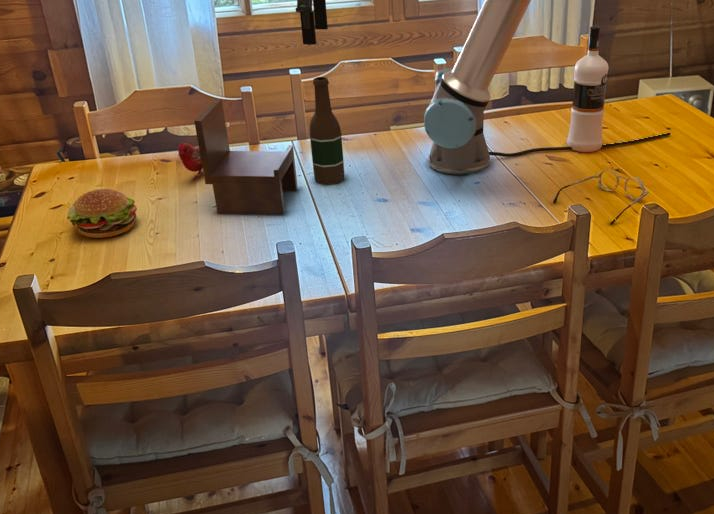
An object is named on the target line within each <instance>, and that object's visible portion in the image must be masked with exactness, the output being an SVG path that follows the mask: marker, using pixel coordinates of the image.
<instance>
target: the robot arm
mask: <svg viewBox="0 0 714 514" xmlns="http://www.w3.org/2000/svg"><path fill="white" fill-rule="evenodd" d="M326 1H327V0H296V7H295V12H296V13H299V16H300V26H301V36H302V38H301V39H302V45H305V46H306V45H309V46H312V45H313V46H315V45H317V34H316V30H322V31H323V30H328V29H329V27H328V26H329V25H328V15H327V2H326ZM531 1H532V0H484V2H483V3H482V5H481V8H480V10H479V12H478V14H477V16H476V19H475V20H474V23H473V25H472V28H471V30H470V32H469V33H468V36H467V38H466V40H465V43H464V45H463V47H462V49H461V52H460V53H459V56H458V58H457V60H456V63H455V65H454V66H453V67H452V68H444V69H443V68H442V69H440V70H437V71H436V73H435V77H434V85H435V89H434V90H435V91H434V94H433V96H432V98H431V100H430V103H429V105H428V106H427V107H426V109H425V111H424V115H423V126H424V130H425V133H426V134H427V136H428V138H429V139H430V140H431V141H432V146H431V149H430V151H429V152H428V153H427V157H428V166H429V167H430V168H431V169H432V170H434V171H436V172H439V173H441V174H446V175H455V176H463V175H472V174H477V173H481V172H483V171H485V170H486V169H488V168H489V167H490V165H491V156H496V157H504V158H513V157H519V156H524V155H526V154H531V153H539V152H556V151H557V152H558V151H559V152H561V151H573V150H572V148H571V147H568V146H552V147H551V146H550V147H549V146H548V147H536V148H529V149H525V150H521V151H518V152H508V153H506V152H498V151H489V148H488V145H487V141H486V138H485V135H484V124H485V123H484V121H485V119H484V117H485V115H484V112H485V111H486V108H487V106H488V104H489V102H490V100H491V94H490V91H489V86H490V84H491V83H492V81H493V78H494V76H495V74H496V73H497V70H498V68H499V66H500V64H501V62H502V60H503V58H504V56H505V54H506V52H507V50H508V48H509V47H510V44H511V42H512V39H514V35H515V34H516V32H517V30H518V28H519V26H520V23H521V22H522V19H523V18H524V15H525V14H526V11H527V9H528V8H529V5H530V3H531ZM666 133H667V132H666ZM671 133H672V132H670V133H667V134H663V133H661V134H662V135H658V134H657V135H658V136H654V135H652V136H653V137H649V136H647V137H648V138H644V137H643V138H644V139H639V138H638V139H639V140H634V139H633V140H634V141H629V140H627V141H628V142H623V141H621V142H622V143H616V142H613V143H614V144H608V143H605V144H606V145H602V147H601V148H600V149H602V148H611V147H618V146H624V145H625V146H627V145H630V144H631V145H632V144H636V143H642V142H645V141H651V140H655V139H659V138H664V137H669V136H671Z"/></svg>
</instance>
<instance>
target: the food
mask: <svg viewBox="0 0 714 514" xmlns="http://www.w3.org/2000/svg"><path fill="white" fill-rule="evenodd" d="M135 203H136V202H135V200H134V199H132V198H130V197H128V196H127V195H126V194H125V193H123V192H122V191H119V190H116V189H111V188H110V189H109V188H98V189H94V190H90V191H88V192H85V193H83V194H82V195H80V196H78V197H77V198H76V200H75V201H74V203H73V204H72V205H71V206H70V207H69V210H68V212H67V217H66V219H67V220H69V222H70V223H71V225H72V226H73V227H75V226H76V225H77V232H78V233H79V234H80V235H82V236H84V237H86V238H94V239H101V238H111V237H114V236H118V235H121V234H123V233H125V232H128V231H129V230H130V229H131V228H133V227H134V226H135V221H136V218H137V213H136V212H137V210H138V206H137V205H136V204H135Z"/></svg>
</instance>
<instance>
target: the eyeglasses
mask: <svg viewBox="0 0 714 514" xmlns="http://www.w3.org/2000/svg"><path fill="white" fill-rule="evenodd" d="M604 172H611V173H612V174H614V176H615V178H616V184H615V185H614V189H608V188H606V187H605V185H604V184H603V182H602V176H603V174H604ZM619 178H621V179H624V180H625V181H624V192H625V194H626V196H627V197H628V198H629V199H630V200H632V201H633V202H632V203H630V204H629V205H628V206H627V207H625V208H624V209H623V210H622V211H621V212H620V213H619V214H618V215H617V216H616V217H615V218H614V219H613V220H612V221H610V225H613V224H614V223H615V222H616V221H617V220H618V219H619V218H620V217H621V216H622V214H623V213H624V212H625V211H626V210H628V209H629V208H631V207H632V206H633V205H635V204H637V203H638V202H640V201H641V200H642V199H644V198H645V197H646V196H647V195H648V194H649V193H650V191H649V190H645V184H644V182H642V180H641V179H640V178H638V177H632V176H631V177H629V178H627V177H625V176H622V175H617V172H615V171H614V170H613V169H609V168H608V169H607V168H606V169H604V170H602V171H600V172H599V174H595V175H591V176H588V177H586V178H583V179H580V180H578V181H575V182H572V183H569V184H568V185H564V186H562V187H561V188H559V190H558V192H557V193H556V195H555V197H554V199H553V201H552V204H554V205H555V204H557V201H558V198H559V196H560V193H561V191H563V190H564V189H566V188H570V187H572V186H576V185H579V184H581V183H584V182H587V181H590V180H592V179H597V184H598V186H599V187H600V188H601V190H604V191H606V192H612V191H615V190H616V189H618V186H619V184H620V179H619ZM631 179H633V180H635V181H637V183H638V184H639V187H640V191H642V193H641V194H640V195H639V197H640V198H639V197H637V198H636V197H632V196H631V195H630V194H629V192H628V190H627V183H628V182H629V180H631ZM626 192H627V193H626ZM615 219H616V220H615Z"/></svg>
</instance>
